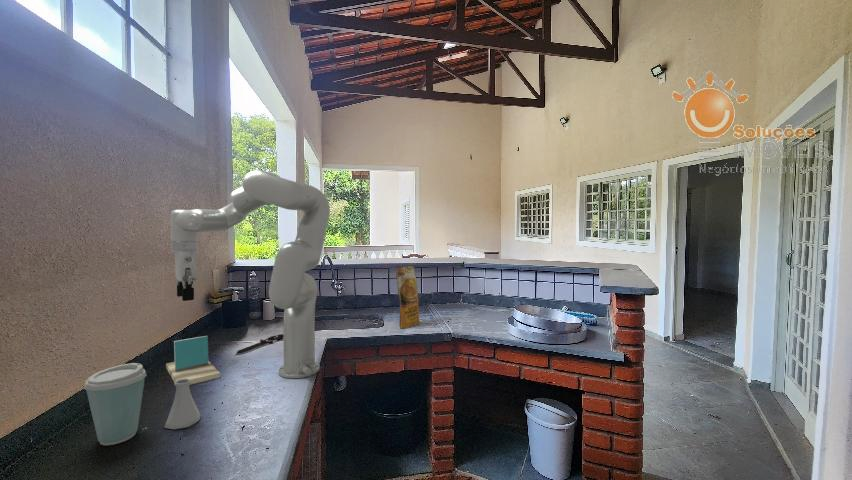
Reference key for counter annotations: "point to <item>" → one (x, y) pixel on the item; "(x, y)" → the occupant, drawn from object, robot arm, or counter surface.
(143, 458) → the counter surface
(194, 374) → the board
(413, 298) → the pancake mix bag
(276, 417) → the counter surface
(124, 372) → the disposable coffee cup
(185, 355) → the tile
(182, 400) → the flask
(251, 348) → the knife
